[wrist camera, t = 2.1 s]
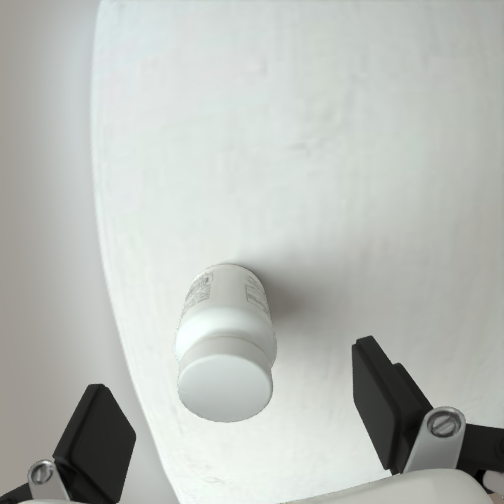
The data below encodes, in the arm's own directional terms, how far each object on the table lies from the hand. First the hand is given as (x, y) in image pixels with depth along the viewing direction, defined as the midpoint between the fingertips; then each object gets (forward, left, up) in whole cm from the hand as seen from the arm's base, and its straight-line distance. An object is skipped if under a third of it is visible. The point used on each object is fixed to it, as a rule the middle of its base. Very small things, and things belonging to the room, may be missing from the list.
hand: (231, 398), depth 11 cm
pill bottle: (0, 0, -8) cm, 8 cm away
